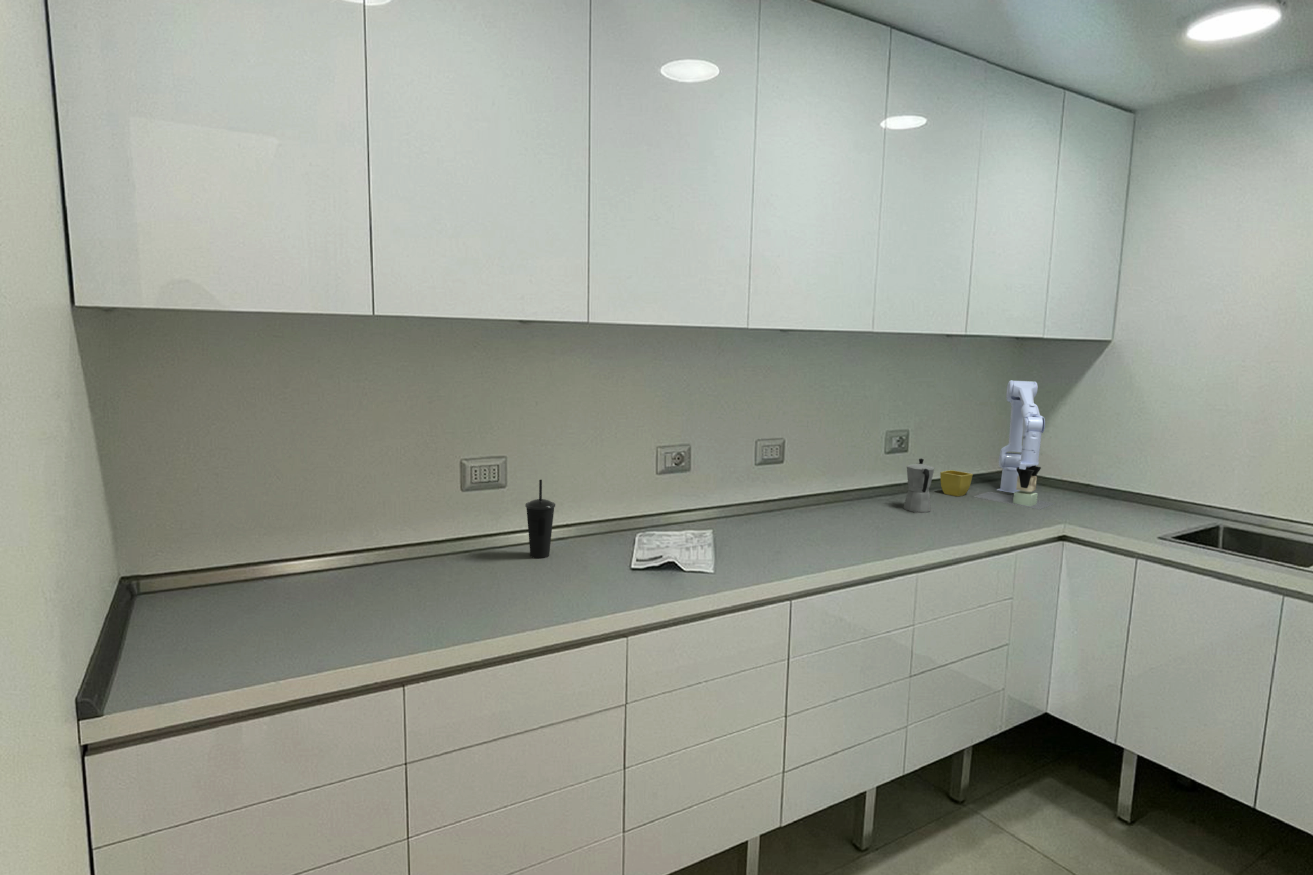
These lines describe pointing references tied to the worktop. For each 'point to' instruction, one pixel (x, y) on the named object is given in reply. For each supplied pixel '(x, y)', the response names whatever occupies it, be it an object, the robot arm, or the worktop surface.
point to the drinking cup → (540, 525)
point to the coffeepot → (919, 487)
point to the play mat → (1010, 499)
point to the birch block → (1030, 487)
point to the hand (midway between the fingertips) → (1026, 486)
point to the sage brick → (1025, 498)
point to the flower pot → (955, 482)
